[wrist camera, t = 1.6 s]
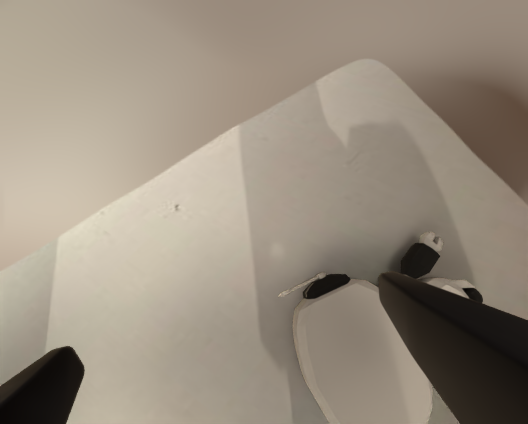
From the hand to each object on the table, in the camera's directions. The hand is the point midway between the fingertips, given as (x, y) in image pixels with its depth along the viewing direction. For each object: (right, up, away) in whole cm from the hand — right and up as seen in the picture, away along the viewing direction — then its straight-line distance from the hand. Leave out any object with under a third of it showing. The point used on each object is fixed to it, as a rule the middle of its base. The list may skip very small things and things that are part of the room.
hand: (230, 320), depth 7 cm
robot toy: (+11, -7, +14) cm, 19 cm away
